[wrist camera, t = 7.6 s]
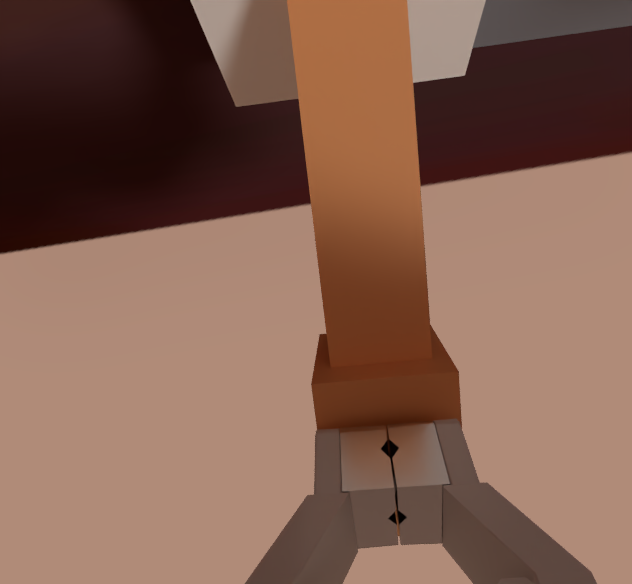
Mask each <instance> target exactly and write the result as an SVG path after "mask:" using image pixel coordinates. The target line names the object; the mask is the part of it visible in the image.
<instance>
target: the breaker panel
mask: <svg viewBox="0 0 632 584" xmlns="http://www.w3.org/2000/svg"><path fill="white" fill-rule="evenodd" d="M190 1H191V3H192V5H193V8H194V10H195V12H196V15H197V17H198V19H199V22H200V24H201V26H202V29H203V31H204V33H205V36H206V38H207V40H208V43H209V45H210V47H211V50H212V52H213V54H214V57H215V59H216V61H217V64H218V66H219V68H220V71H221V73H222V75H223V78H224V80H225V82H226V85H227V87H228V89H229V92H230V94H231V96H232V99H233V101H234V103H235V105H236V107H239V106H247V105H254V104H261V103H268V102H276V101H283V100H290V99H298V89H297V81H296V72H295V64H294V56H293V47H292V39H291V30H290V22H289V14H288V5H287V0H190ZM407 5H408V20H409V34H410V48H411V62H412V76H413V83H414V82H421V81H429V80H436V79H443V78H451V77H458V76H465V73H466V69H467V65H468V62H469V58H470V55H471V51H472V48H476V47H483V46H490V45H497V44H504V43H511V42H518V41H525V40H532V39H539V38H546V37H553V36H560V35H567V34H574V33H581V32H588V31H596V30H603V29H610V28H617V27H624V26H631V25H632V0H407Z"/></svg>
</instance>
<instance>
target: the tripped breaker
mask: <svg viewBox="0 0 632 584" xmlns="http://www.w3.org/2000/svg"><path fill="white" fill-rule="evenodd" d="M287 5H288V14H289V22H290V30H291V39H292V47H293V56H294V64H295V72H296V81H297V89H298V98H299V106H300V114H301V123H302V131H303V140H304V148H305V157H306V165H307V173H308V182H309V190H310V199H311V207H312V215H313V224H314V232H315V241H316V249H317V258H318V266H319V274H320V283H321V291H322V299H323V308H324V316H325V324H326V333H327V334H320V337H319V342H318V348H317V354H316V360H315V366H314V372H313V378H312V384H311V385H312V393H313V401H314V409H315V416H316V424H317V430H319V429H336V428H347V427H365V426H383V425H385V428H386V434H387V425H389V424H399V423H410V422H421V421H433V420H445V419H457V420H458V421H459V422H460V425H461V428H462V422H461V405H460V388H459V371H458V370H457V368H456V366H455V365H454V363H453V362H452V360H451V358H450V356H449V355H448V353H447V352H446V350H445V348H444V347H443V345H442V343H441V342H440V340H439V338H438V337H437V335H436V333H435V332H434V330H433V328H432V327H431V325H430V318H429V303H428V289H427V275H426V261H425V248H424V232H423V218H422V204H421V191H420V176H419V161H418V147H417V133H416V119H415V105H414V91H413V76H412V62H411V48H410V34H409V20H408V5H407V0H287ZM387 441H388V438H387ZM388 451H389V445H388ZM395 513H396V511H395ZM396 521H397V517H396ZM397 533H398V536H399V530H398V523H397Z"/></svg>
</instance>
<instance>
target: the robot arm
mask: <svg viewBox="0 0 632 584" xmlns="http://www.w3.org/2000/svg"><path fill="white" fill-rule="evenodd" d="M387 438H388V441H387ZM388 445H389V451H388ZM395 511H396V513H395ZM396 517H397V521H396ZM397 523H398V530H399V536H400V543H401V545H407V544H408V545H409V544H438V543H443V547H444V548H445V549H446V550H447V551H448V553H449V554H450V555H451V557H452V558H453V559H454V560H455V562H456V563H457V564H458V565H459V566H460V567H461V569H462V570H463V571H464V573H465V574H466V575H467V576H468V578H469V579H470V580H471V581H472V583H473V584H597V583H596V581H595V579H594V577H593V575H592V573H591V571H589V570H588V569H587V568H586V567H585V566H584V565H583V564H581V563H580V562H579V561H578V560H577V559H576V558H574V557H573V556H572V555H571V554H570V553H568V552H567V551H566V550H565V549H564V548H563V547H562V546H560V545H559V544H558V543H557V542H556V541H555V540H553V539H552V538H551V537H550V536H549V535H548V534H546V533H545V532H544V531H543V530H542V529H540V528H539V527H538V526H537V525H536V524H535V523H533V522H532V521H531V520H530V519H529V518H528V517H526V516H525V515H524V514H523V513H522V512H521V511H520V510H518V509H517V508H516V507H515V506H514V505H513V504H511V503H510V502H509V501H508V500H507V499H506V498H504V497H503V496H502V495H501V494H500V493H498V492H497V491H496V490H495V489H494V488H493V487H491V486H490V485H489V484H488V483H479V480H478V477H477V474H476V470H475V467H474V465H473V461H472V458H471V455H470V452H469V449H468V447H467V443H466V440H465V438H464V434H463V431H462V428H461V425H460V422H459V421H458V420H457V419H445V420H433V421H421V422H410V423H399V424H389V425H387V434H386V428H385V425H383V426H365V427H347V428H336V429H319V430H317V431H316V436H315V482H314V495H308V496H307V497H306V498H305V499H304V501H303V503H302V504H301V505H300V506H299V508H298V509H297V511H296V512H295V514H294V515H293V516H292V518H291V519H290V521H289V522H288V524H287V525H286V526H285V528H284V529H283V531H282V532H281V533H280V535H279V536H278V538H277V539H276V541H275V542H274V543H273V545H272V546H271V547H270V549H269V550H268V552H267V553H266V555H265V556H264V557H263V559H262V560H261V562H260V563H259V564H258V566H257V567H256V569H255V570H254V572H253V573H252V574H251V576H250V577H249V578H248V580H247V582H246V583H245V584H342V583H343V582H344V579H345V577H346V575H347V573H348V571H349V569H350V567H351V565H352V563H353V561H354V559H355V556H356V554H357V552H358V548H369V547H380V546H392V545H398V533H397Z"/></svg>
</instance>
